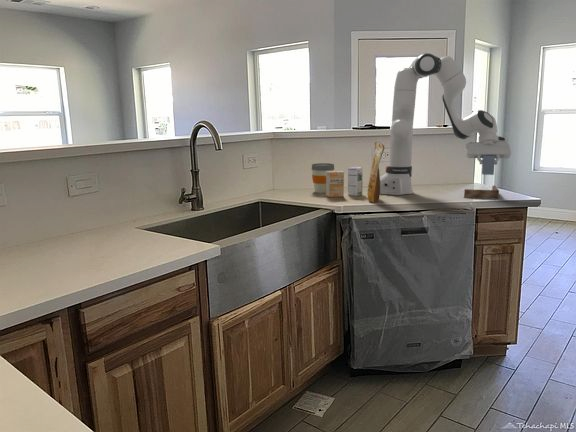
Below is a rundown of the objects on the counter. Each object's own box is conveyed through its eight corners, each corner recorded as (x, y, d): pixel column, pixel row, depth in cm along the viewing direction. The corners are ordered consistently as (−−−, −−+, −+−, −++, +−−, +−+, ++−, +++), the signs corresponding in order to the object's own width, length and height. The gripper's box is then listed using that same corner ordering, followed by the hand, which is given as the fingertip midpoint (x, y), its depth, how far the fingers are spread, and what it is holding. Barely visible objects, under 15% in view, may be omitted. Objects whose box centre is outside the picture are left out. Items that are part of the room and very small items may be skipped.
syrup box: (357, 196, 236) (357, 168, 233) (347, 195, 239) (347, 167, 236) (362, 194, 240) (362, 167, 237) (352, 193, 244) (353, 166, 241)
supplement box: (329, 197, 232) (329, 172, 229) (325, 196, 236) (325, 171, 233) (344, 196, 234) (344, 171, 231) (340, 195, 238) (340, 170, 236)
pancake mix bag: (380, 196, 233) (381, 141, 227) (383, 203, 214) (384, 143, 208) (366, 196, 234) (367, 141, 228) (368, 203, 215) (369, 143, 209)
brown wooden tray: (464, 197, 226) (464, 189, 225) (462, 192, 242) (463, 184, 241) (498, 198, 222) (499, 190, 221) (494, 193, 237) (495, 185, 236)
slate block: (482, 174, 224) (483, 156, 222) (481, 173, 229) (483, 155, 227) (493, 174, 222) (495, 156, 221) (492, 173, 227) (493, 155, 225)
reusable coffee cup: (338, 192, 249) (338, 164, 245) (317, 193, 244) (317, 165, 241) (328, 189, 260) (328, 162, 257) (308, 190, 255) (307, 163, 252)
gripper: (466, 138, 232) (466, 159, 224) (510, 138, 225) (512, 159, 218) (465, 146, 237) (465, 167, 230) (508, 146, 230) (509, 168, 223)
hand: (488, 163), depth 224 cm, fingers closed on slate block, 5 cm apart
